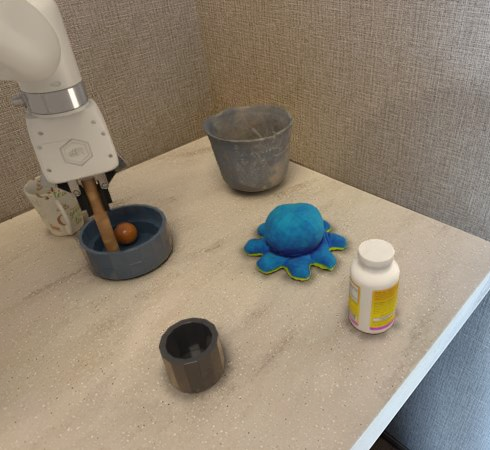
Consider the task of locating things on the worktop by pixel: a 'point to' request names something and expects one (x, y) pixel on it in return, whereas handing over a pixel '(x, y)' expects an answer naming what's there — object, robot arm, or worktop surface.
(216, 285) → the worktop surface
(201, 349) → the holder
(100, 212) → the stick
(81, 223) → the mug
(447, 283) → the worktop surface
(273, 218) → the plush toy
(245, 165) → the grey bucket
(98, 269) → the mixing bowl
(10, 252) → the worktop surface
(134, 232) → the bead
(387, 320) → the supplement bottle
